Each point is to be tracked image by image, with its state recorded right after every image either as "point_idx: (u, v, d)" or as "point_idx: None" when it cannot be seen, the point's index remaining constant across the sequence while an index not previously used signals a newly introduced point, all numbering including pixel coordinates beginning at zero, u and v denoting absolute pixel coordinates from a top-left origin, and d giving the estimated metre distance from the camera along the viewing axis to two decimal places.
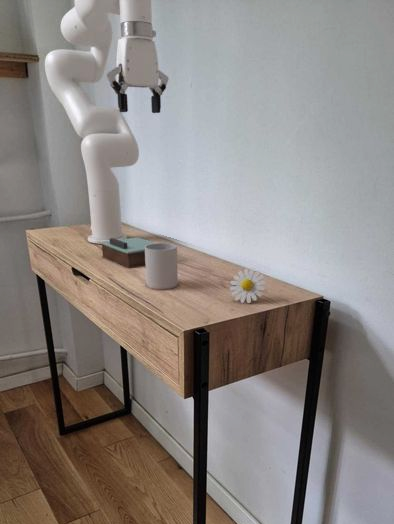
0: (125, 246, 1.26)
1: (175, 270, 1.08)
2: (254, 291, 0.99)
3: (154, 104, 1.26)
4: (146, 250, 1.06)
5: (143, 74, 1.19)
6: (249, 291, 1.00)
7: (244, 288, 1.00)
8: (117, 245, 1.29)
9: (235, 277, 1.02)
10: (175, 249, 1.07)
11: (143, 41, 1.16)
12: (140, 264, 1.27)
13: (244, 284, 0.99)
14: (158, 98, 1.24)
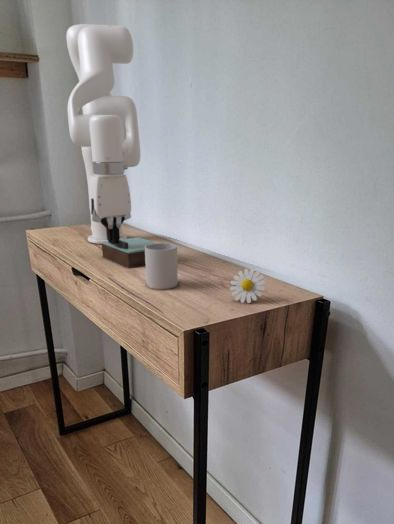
0: (126, 246, 1.27)
1: (175, 270, 1.08)
2: (254, 291, 0.99)
3: None
4: (146, 250, 1.06)
5: (115, 206, 1.23)
6: (249, 291, 1.00)
7: (244, 288, 1.00)
8: (118, 245, 1.29)
9: (235, 277, 1.02)
10: (175, 249, 1.07)
11: (114, 177, 1.20)
12: (140, 264, 1.27)
13: (244, 284, 0.99)
14: (116, 231, 1.26)
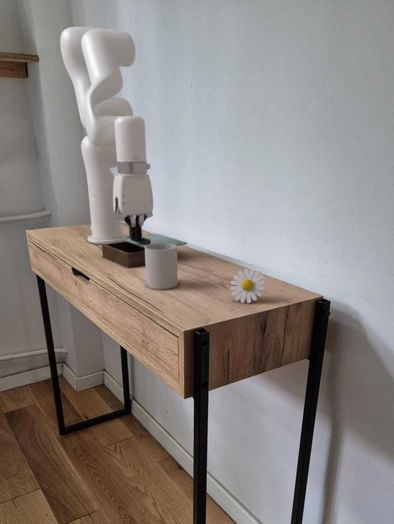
0: (148, 242, 1.30)
1: (175, 270, 1.08)
2: (254, 291, 0.99)
3: None
4: (146, 250, 1.06)
5: (138, 205, 1.26)
6: (249, 291, 1.00)
7: (244, 288, 1.00)
8: (140, 242, 1.33)
9: (235, 277, 1.02)
10: (175, 249, 1.07)
11: (138, 177, 1.24)
12: (140, 264, 1.27)
13: (244, 284, 0.99)
14: (139, 229, 1.30)
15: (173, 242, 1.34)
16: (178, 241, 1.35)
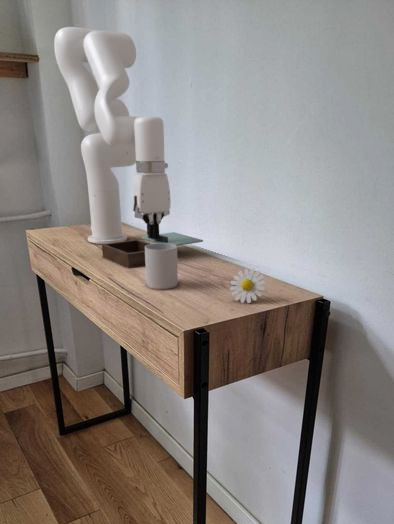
0: (166, 240, 1.33)
1: (175, 270, 1.08)
2: (254, 291, 0.99)
3: None
4: (146, 250, 1.06)
5: (156, 203, 1.30)
6: (249, 291, 1.00)
7: (244, 288, 1.00)
8: (157, 239, 1.36)
9: (235, 277, 1.02)
10: (175, 249, 1.07)
11: (156, 176, 1.27)
12: (140, 264, 1.27)
13: (244, 284, 0.99)
14: (157, 227, 1.33)
15: (189, 239, 1.37)
16: (194, 239, 1.38)
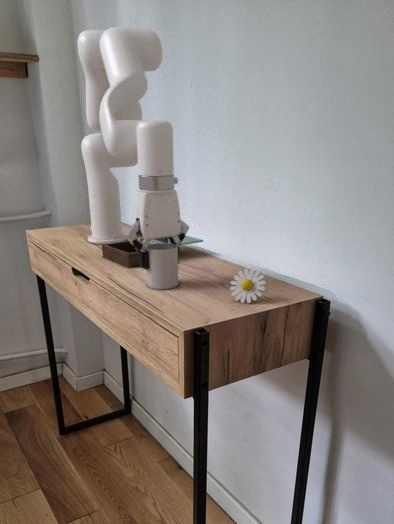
0: (166, 240, 1.34)
1: (176, 270, 1.09)
2: (254, 291, 0.99)
3: None
4: (147, 250, 1.06)
5: (164, 227, 1.05)
6: (249, 291, 1.00)
7: (244, 288, 1.00)
8: (158, 239, 1.36)
9: (235, 277, 1.02)
10: (176, 249, 1.07)
11: (164, 194, 1.02)
12: None
13: (244, 284, 0.99)
14: None
15: (190, 239, 1.37)
16: (194, 238, 1.38)
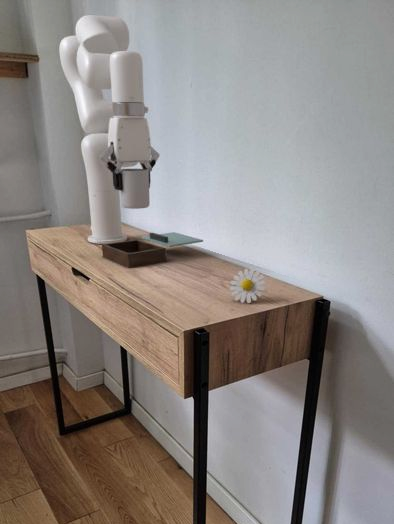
0: (166, 240, 1.34)
1: (147, 191, 1.22)
2: (254, 291, 0.99)
3: None
4: (121, 172, 1.19)
5: (135, 151, 1.18)
6: (249, 291, 1.00)
7: (244, 288, 1.00)
8: (158, 239, 1.36)
9: (235, 277, 1.02)
10: (147, 171, 1.20)
11: (135, 120, 1.15)
12: (140, 264, 1.27)
13: (244, 284, 0.99)
14: None
15: (190, 239, 1.37)
16: (194, 238, 1.38)
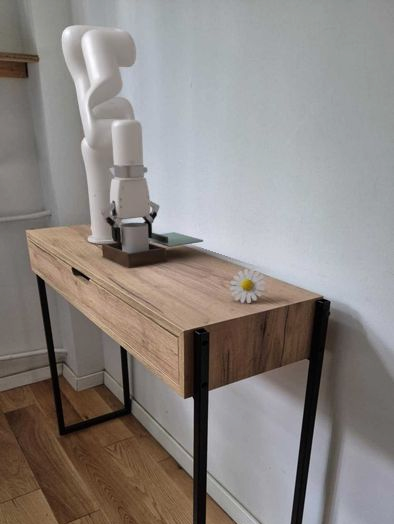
0: (166, 240, 1.34)
1: (146, 245, 1.30)
2: (254, 291, 0.99)
3: None
4: (122, 228, 1.27)
5: (135, 209, 1.27)
6: (249, 291, 1.00)
7: (244, 288, 1.00)
8: (158, 239, 1.36)
9: (235, 277, 1.02)
10: (146, 227, 1.28)
11: (135, 181, 1.24)
12: (140, 264, 1.27)
13: (244, 284, 0.99)
14: (149, 226, 1.32)
15: (190, 239, 1.37)
16: (194, 238, 1.38)
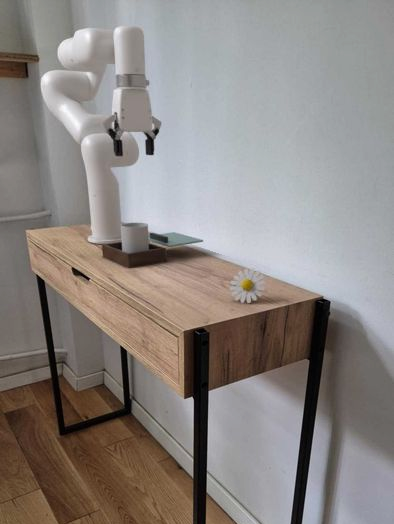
0: (166, 240, 1.34)
1: (146, 245, 1.30)
2: (254, 291, 0.99)
3: (148, 147, 1.33)
4: (122, 228, 1.27)
5: (137, 121, 1.26)
6: (249, 291, 1.00)
7: (244, 288, 1.00)
8: (158, 239, 1.36)
9: (235, 277, 1.02)
10: (146, 227, 1.28)
11: (137, 91, 1.23)
12: (140, 264, 1.27)
13: (244, 284, 0.99)
14: (152, 142, 1.31)
15: (190, 239, 1.37)
16: (194, 238, 1.38)
